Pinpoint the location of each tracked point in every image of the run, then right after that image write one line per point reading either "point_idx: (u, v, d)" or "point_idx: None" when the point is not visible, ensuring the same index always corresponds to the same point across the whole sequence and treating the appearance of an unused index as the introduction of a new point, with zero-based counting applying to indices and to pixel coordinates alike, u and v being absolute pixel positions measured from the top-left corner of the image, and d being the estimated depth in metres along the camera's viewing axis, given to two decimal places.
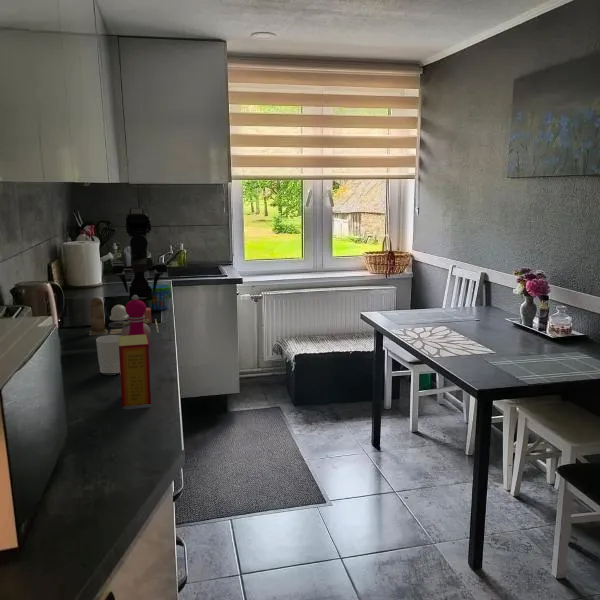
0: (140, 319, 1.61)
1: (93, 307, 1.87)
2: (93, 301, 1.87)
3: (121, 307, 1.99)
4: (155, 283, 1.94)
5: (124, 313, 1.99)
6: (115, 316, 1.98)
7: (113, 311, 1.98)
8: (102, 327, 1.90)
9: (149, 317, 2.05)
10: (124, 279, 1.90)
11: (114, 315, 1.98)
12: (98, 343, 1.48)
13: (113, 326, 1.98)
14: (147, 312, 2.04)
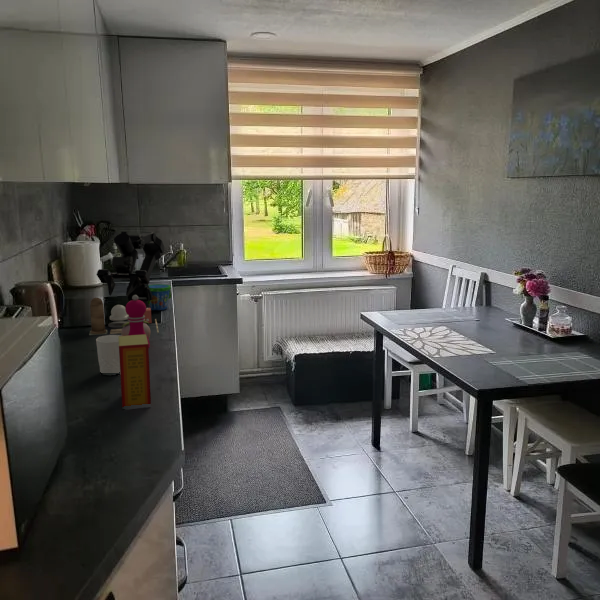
0: (140, 319, 1.61)
1: (93, 307, 1.87)
2: (93, 301, 1.87)
3: (121, 307, 1.99)
4: (129, 286, 2.00)
5: (124, 313, 1.99)
6: (115, 316, 1.98)
7: (113, 311, 1.98)
8: (102, 327, 1.90)
9: (149, 317, 2.05)
10: (109, 281, 2.01)
11: (114, 315, 1.98)
12: (98, 343, 1.48)
13: (113, 326, 1.98)
14: (147, 312, 2.04)
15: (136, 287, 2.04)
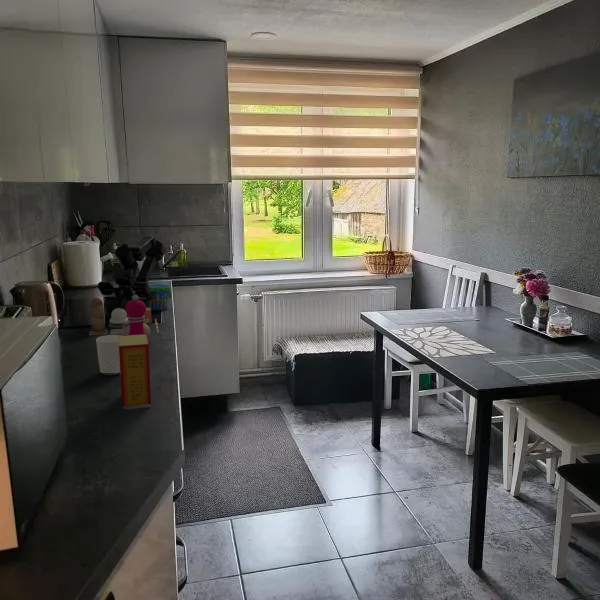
0: (140, 319, 1.61)
1: (93, 307, 1.87)
2: (93, 301, 1.87)
3: (121, 310, 1.99)
4: (122, 298, 2.01)
5: (124, 316, 2.00)
6: (115, 319, 1.99)
7: (113, 314, 1.98)
8: (102, 327, 1.90)
9: (149, 317, 2.05)
10: (118, 294, 2.02)
11: (114, 318, 1.99)
12: (98, 343, 1.48)
13: (113, 326, 1.98)
14: (147, 312, 2.04)
15: (129, 299, 2.05)
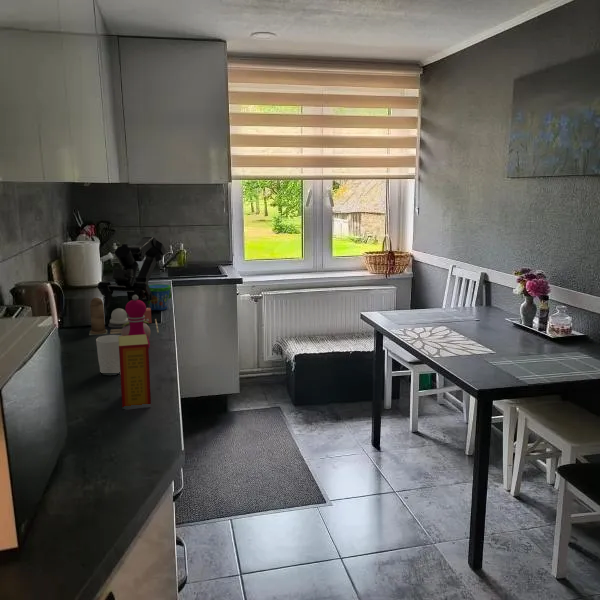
0: (140, 319, 1.61)
1: (93, 307, 1.87)
2: (93, 301, 1.87)
3: (121, 310, 1.99)
4: None
5: (124, 316, 2.00)
6: (115, 320, 1.99)
7: (113, 315, 1.98)
8: (102, 327, 1.90)
9: (149, 317, 2.05)
10: (106, 293, 2.02)
11: (114, 319, 1.99)
12: (98, 343, 1.48)
13: (113, 326, 1.98)
14: (147, 312, 2.04)
15: (140, 299, 2.04)
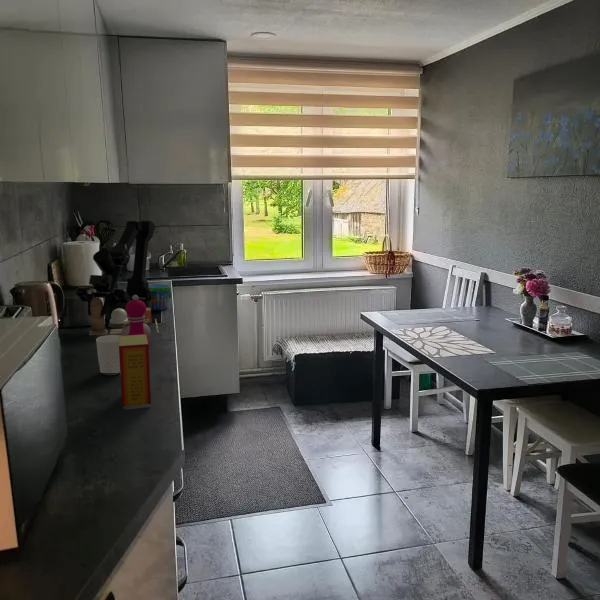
0: (140, 319, 1.61)
1: (93, 307, 1.87)
2: (93, 301, 1.87)
3: (121, 310, 1.99)
4: (104, 306, 1.89)
5: (124, 316, 2.00)
6: (115, 320, 1.99)
7: (113, 315, 1.98)
8: (102, 327, 1.90)
9: (149, 317, 2.05)
10: (90, 300, 1.91)
11: (114, 319, 1.99)
12: (98, 343, 1.48)
13: (113, 326, 1.98)
14: (147, 312, 2.04)
15: (113, 307, 1.92)
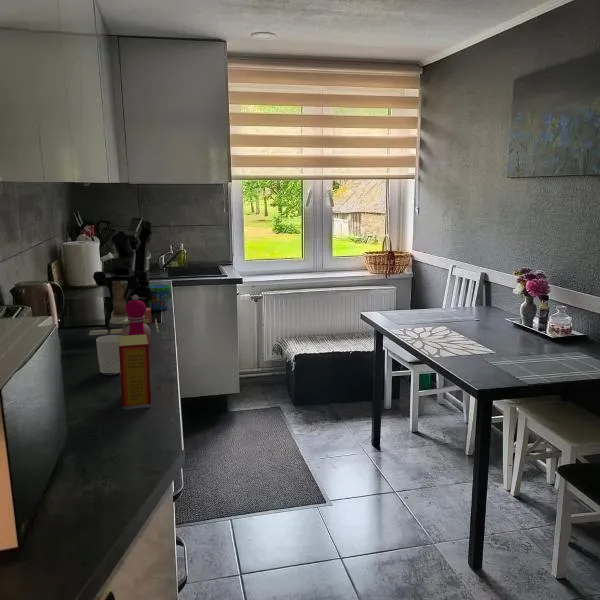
0: (140, 319, 1.61)
1: (117, 290, 1.88)
2: (116, 284, 1.88)
3: None
4: (127, 289, 1.90)
5: None
6: (115, 320, 1.99)
7: None
8: (125, 310, 1.91)
9: (149, 317, 2.05)
10: (110, 284, 1.90)
11: (114, 319, 1.99)
12: (98, 343, 1.48)
13: (113, 326, 1.98)
14: (147, 312, 2.04)
15: (133, 289, 1.94)
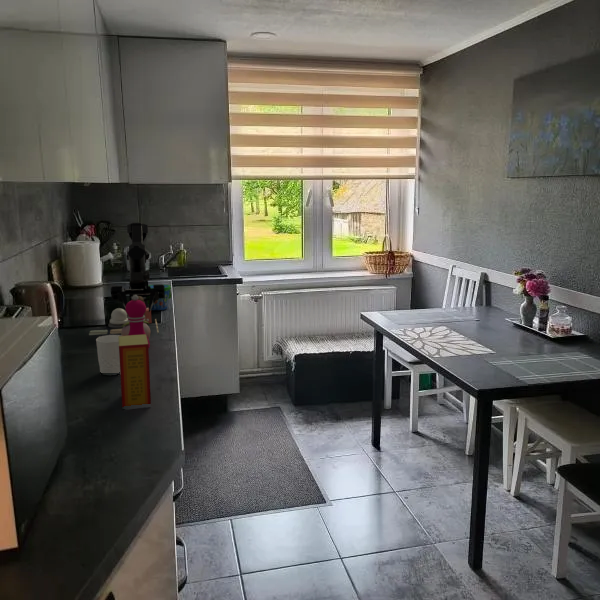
0: (140, 319, 1.61)
1: None
2: None
3: (121, 310, 1.99)
4: (150, 302, 1.94)
5: (124, 316, 2.00)
6: (115, 320, 1.99)
7: (113, 315, 1.98)
8: None
9: (149, 317, 2.05)
10: (125, 298, 1.93)
11: (114, 319, 1.99)
12: (98, 343, 1.48)
13: (113, 326, 1.98)
14: (147, 312, 2.04)
15: (154, 302, 1.98)
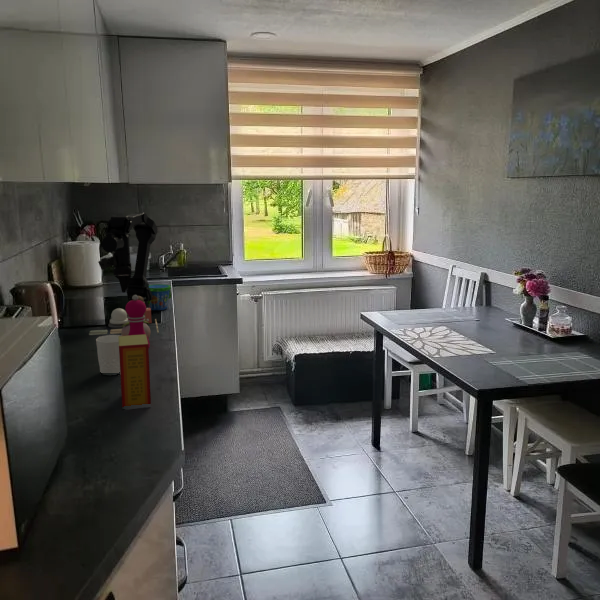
0: (140, 319, 1.61)
1: None
2: None
3: (121, 310, 1.99)
4: (120, 284, 2.01)
5: (124, 316, 2.00)
6: (115, 320, 1.99)
7: (113, 315, 1.98)
8: None
9: (149, 317, 2.05)
10: None
11: (114, 319, 1.99)
12: (98, 343, 1.48)
13: (113, 326, 1.98)
14: (147, 312, 2.04)
15: (129, 279, 2.00)
